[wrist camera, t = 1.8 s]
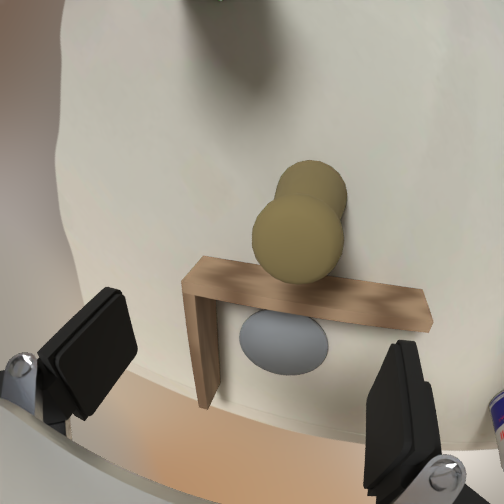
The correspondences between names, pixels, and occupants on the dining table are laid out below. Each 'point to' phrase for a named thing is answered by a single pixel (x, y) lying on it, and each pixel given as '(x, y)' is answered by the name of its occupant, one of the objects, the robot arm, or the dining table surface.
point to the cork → (302, 224)
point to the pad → (283, 342)
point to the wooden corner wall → (285, 307)
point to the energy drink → (498, 422)
